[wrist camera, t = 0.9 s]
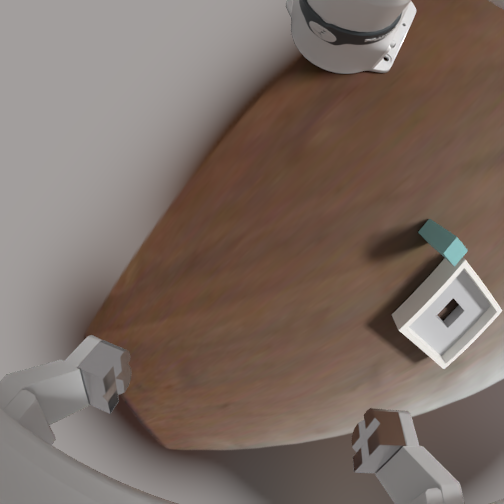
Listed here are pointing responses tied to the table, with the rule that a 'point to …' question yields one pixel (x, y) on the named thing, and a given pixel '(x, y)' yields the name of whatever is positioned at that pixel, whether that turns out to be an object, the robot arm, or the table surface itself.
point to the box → (458, 322)
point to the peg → (443, 241)
